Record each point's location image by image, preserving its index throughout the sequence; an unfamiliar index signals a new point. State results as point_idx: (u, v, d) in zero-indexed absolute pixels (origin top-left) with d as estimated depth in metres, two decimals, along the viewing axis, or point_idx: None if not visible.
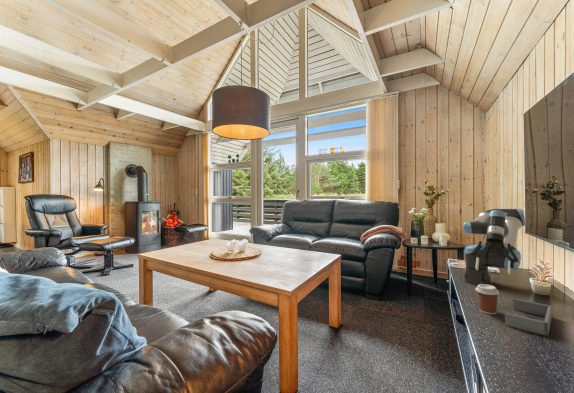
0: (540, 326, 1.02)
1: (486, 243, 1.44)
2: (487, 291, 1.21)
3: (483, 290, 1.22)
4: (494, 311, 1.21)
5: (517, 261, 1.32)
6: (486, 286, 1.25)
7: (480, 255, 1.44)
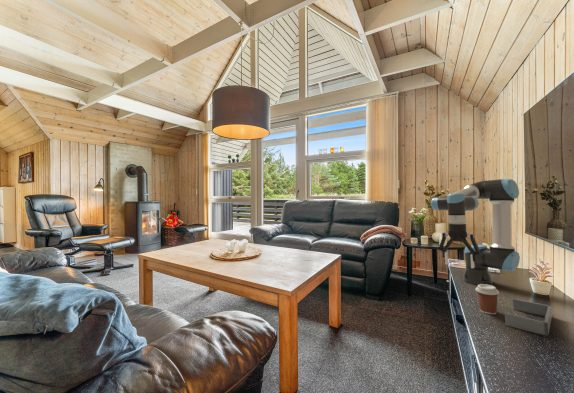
0: (540, 326, 1.02)
1: (449, 234, 1.34)
2: (487, 291, 1.21)
3: (483, 290, 1.22)
4: (494, 311, 1.21)
5: (479, 253, 1.26)
6: (486, 286, 1.25)
7: (447, 247, 1.37)
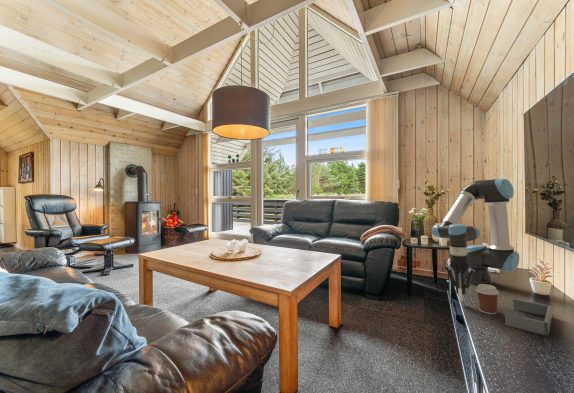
0: (540, 326, 1.02)
1: (451, 265, 1.34)
2: (487, 291, 1.21)
3: (483, 290, 1.22)
4: (494, 311, 1.21)
5: None
6: (486, 286, 1.25)
7: None
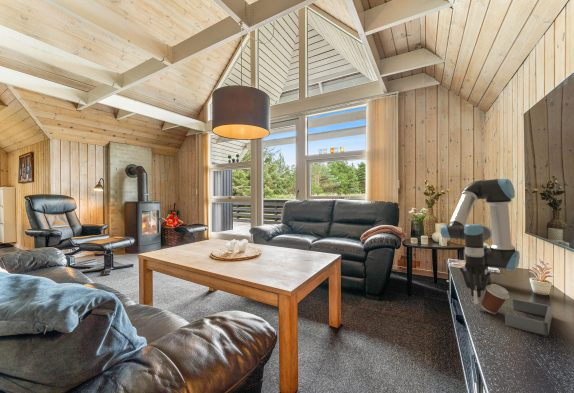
0: (540, 326, 1.02)
1: (466, 266, 1.29)
2: (498, 294, 1.17)
3: (495, 292, 1.18)
4: (495, 311, 1.20)
5: None
6: (498, 288, 1.21)
7: (474, 283, 1.28)
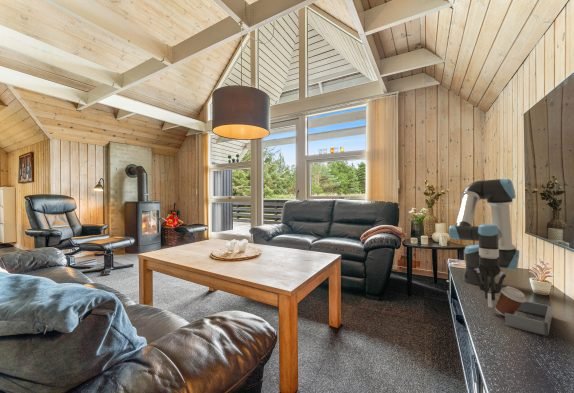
0: (540, 326, 1.02)
1: (480, 268, 1.25)
2: (515, 297, 1.13)
3: (511, 295, 1.14)
4: None
5: None
6: (514, 290, 1.17)
7: (488, 286, 1.23)
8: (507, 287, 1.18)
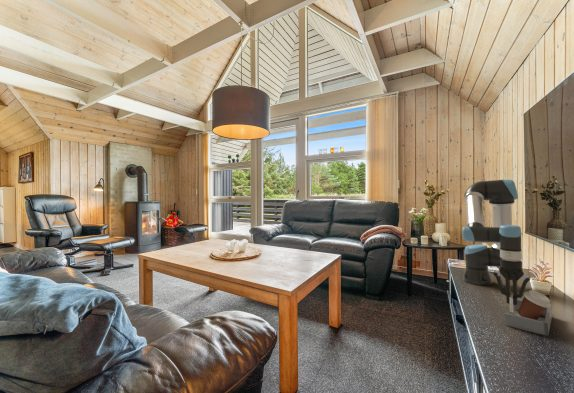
0: (540, 326, 1.02)
1: (501, 271, 1.19)
2: (540, 302, 1.07)
3: (535, 299, 1.08)
4: None
5: None
6: (538, 295, 1.11)
7: None
8: (530, 291, 1.12)
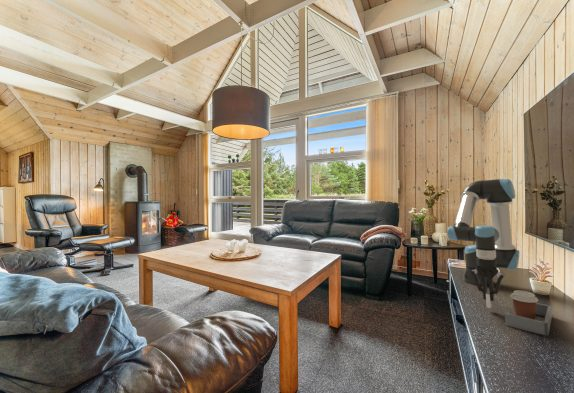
0: (540, 326, 1.02)
1: (478, 269, 1.26)
2: (525, 298, 1.11)
3: (520, 297, 1.12)
4: None
5: None
6: (523, 293, 1.15)
7: (486, 286, 1.25)
8: (515, 291, 1.16)
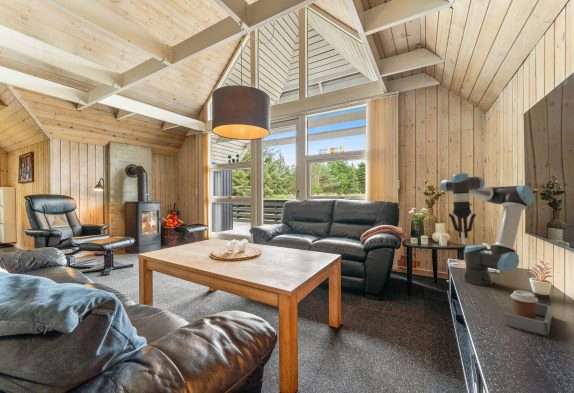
0: (540, 326, 1.02)
1: (454, 212, 1.44)
2: (525, 298, 1.11)
3: (520, 297, 1.12)
4: None
5: (469, 230, 1.41)
6: (523, 293, 1.15)
7: (461, 226, 1.43)
8: (515, 291, 1.16)
